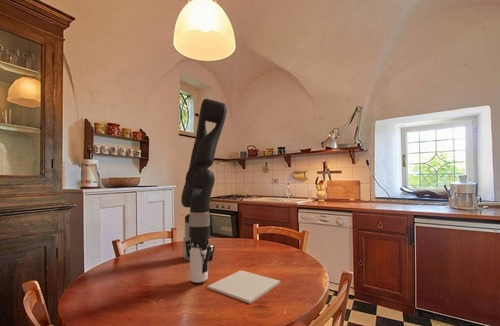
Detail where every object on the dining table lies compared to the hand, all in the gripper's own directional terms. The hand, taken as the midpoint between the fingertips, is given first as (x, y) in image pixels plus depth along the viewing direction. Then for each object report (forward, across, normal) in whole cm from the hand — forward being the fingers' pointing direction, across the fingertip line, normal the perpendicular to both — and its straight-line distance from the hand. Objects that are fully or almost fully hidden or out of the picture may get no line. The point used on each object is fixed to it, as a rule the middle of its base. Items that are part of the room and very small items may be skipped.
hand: (199, 271), depth 89 cm
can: (+3, 0, 0) cm, 3 cm away
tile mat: (+4, +15, +8) cm, 18 cm away
